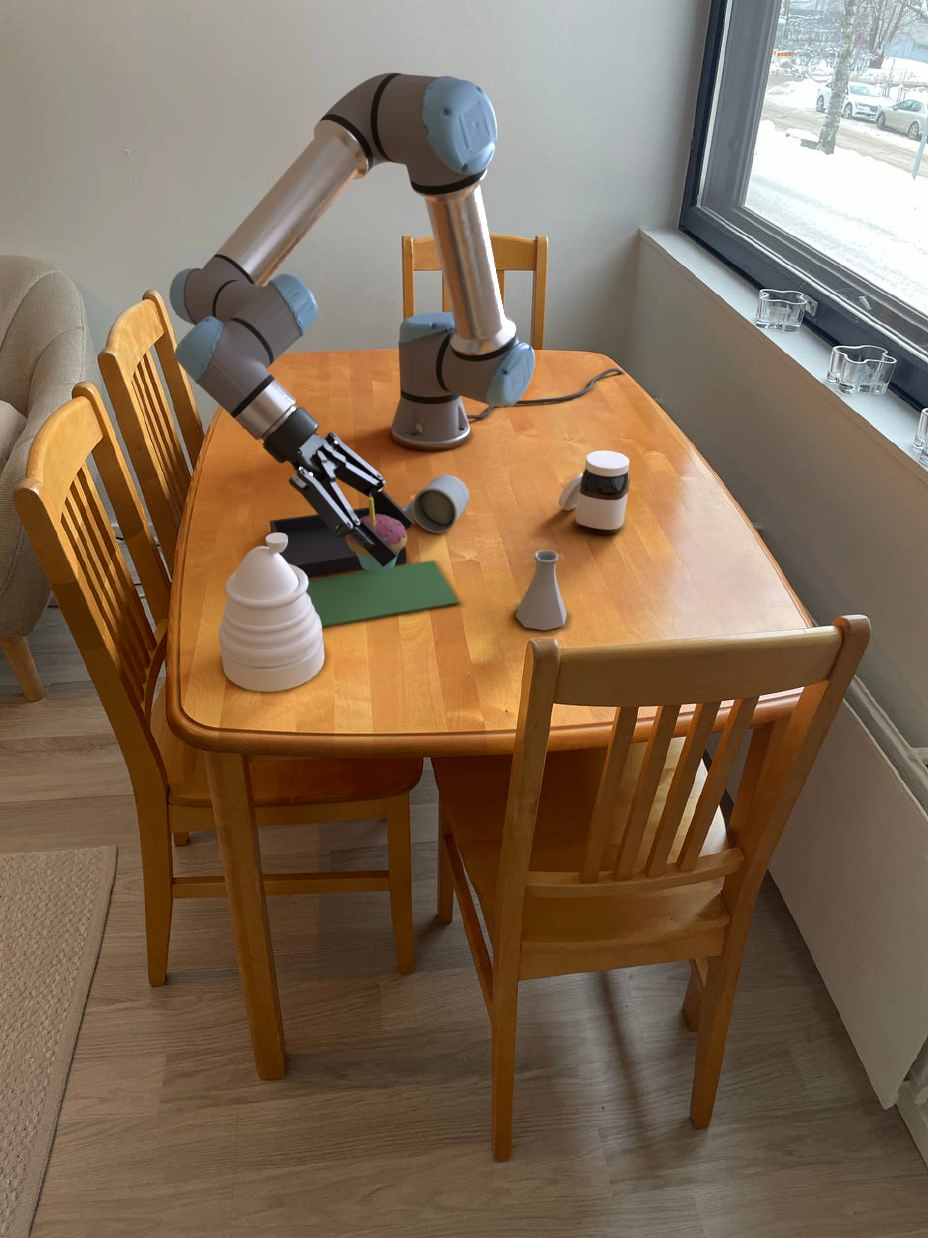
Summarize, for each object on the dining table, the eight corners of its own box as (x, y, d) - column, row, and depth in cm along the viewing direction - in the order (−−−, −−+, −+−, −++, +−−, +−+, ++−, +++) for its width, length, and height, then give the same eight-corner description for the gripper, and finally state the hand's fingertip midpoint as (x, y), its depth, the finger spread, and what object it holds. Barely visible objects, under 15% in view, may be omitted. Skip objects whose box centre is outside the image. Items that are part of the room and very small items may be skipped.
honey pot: (324, 629, 124) (315, 511, 114) (324, 688, 113) (314, 564, 103) (228, 634, 122) (210, 514, 112) (218, 694, 112) (197, 569, 102)
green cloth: (433, 562, 139) (433, 560, 139) (458, 604, 130) (458, 601, 129) (302, 583, 133) (302, 580, 133) (319, 628, 124) (319, 625, 124)
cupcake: (398, 583, 125) (396, 504, 118) (338, 575, 126) (334, 497, 120) (413, 552, 132) (413, 477, 125) (357, 545, 133) (353, 470, 127)
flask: (512, 603, 130) (515, 542, 124) (562, 602, 131) (568, 541, 125) (518, 632, 124) (523, 570, 119) (571, 631, 125) (578, 568, 119)
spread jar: (617, 543, 145) (626, 476, 139) (548, 530, 148) (553, 464, 142) (630, 510, 155) (639, 446, 148) (565, 499, 158) (571, 436, 151)
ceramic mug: (471, 514, 152) (472, 472, 148) (456, 537, 146) (456, 493, 141) (412, 505, 155) (410, 463, 150) (394, 527, 148) (392, 483, 144)
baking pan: (381, 518, 150) (381, 505, 149) (406, 562, 139) (406, 548, 137) (270, 534, 145) (269, 520, 144) (287, 581, 134) (285, 566, 132)
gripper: (289, 411, 131) (400, 522, 137) (230, 474, 113) (359, 598, 120) (323, 378, 127) (434, 494, 134) (266, 438, 109) (398, 568, 116)
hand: (399, 543), depth 127 cm, fingers closed on cupcake, 9 cm apart
